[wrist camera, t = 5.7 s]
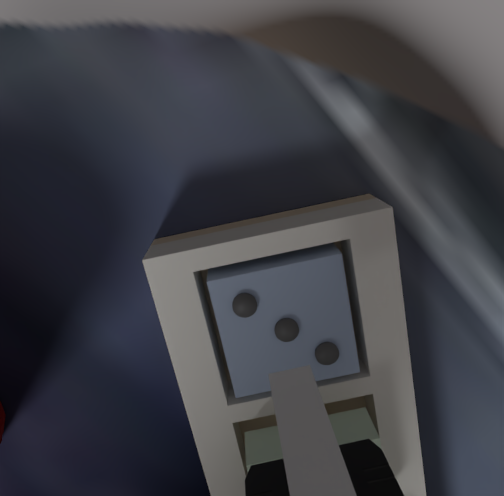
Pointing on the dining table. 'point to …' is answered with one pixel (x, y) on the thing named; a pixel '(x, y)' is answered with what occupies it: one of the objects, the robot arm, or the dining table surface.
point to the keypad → (331, 390)
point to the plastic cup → (1, 421)
